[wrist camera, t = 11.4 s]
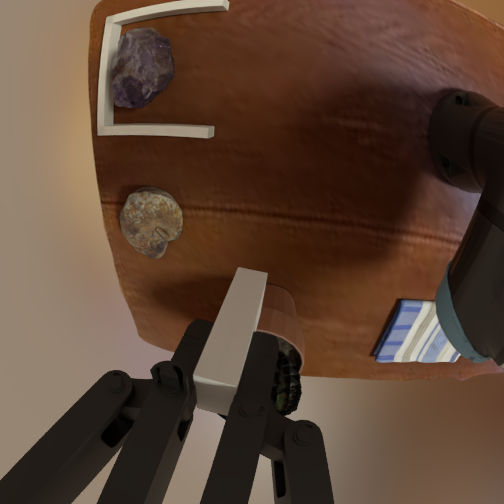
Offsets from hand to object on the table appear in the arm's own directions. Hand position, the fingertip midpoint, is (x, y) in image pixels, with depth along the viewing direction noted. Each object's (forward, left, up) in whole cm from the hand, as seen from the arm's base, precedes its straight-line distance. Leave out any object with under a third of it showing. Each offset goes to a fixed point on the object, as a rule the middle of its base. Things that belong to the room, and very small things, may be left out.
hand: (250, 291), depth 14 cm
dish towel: (-36, +25, -27) cm, 52 cm away
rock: (+20, -14, -27) cm, 37 cm away
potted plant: (-1, +24, -27) cm, 36 cm away
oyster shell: (+21, +12, -27) cm, 36 cm away
